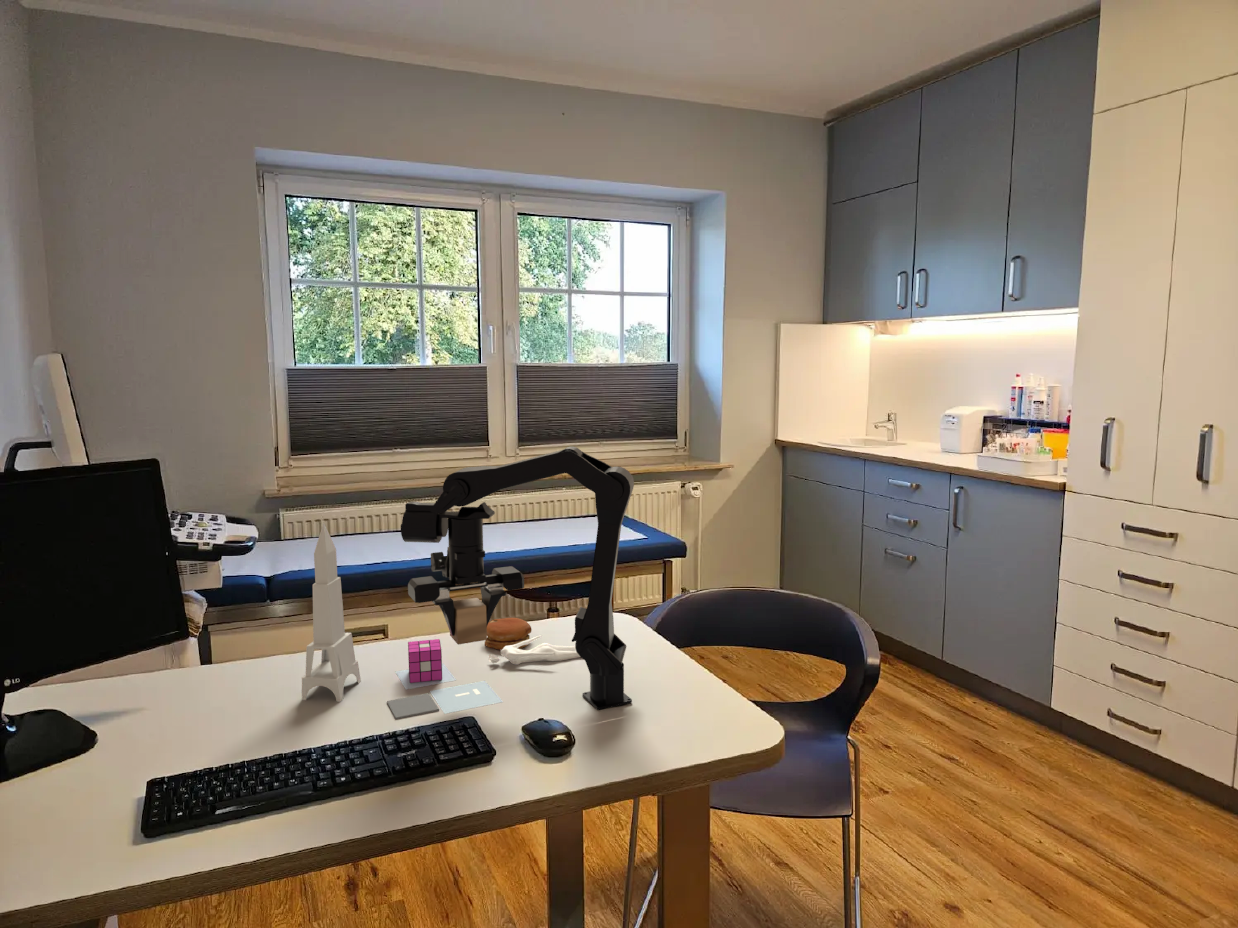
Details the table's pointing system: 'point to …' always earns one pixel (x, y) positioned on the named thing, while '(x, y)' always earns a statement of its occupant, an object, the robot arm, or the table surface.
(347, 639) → the sculpture
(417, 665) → the puzzle toy
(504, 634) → the burger
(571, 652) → the figurine
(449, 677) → the code card
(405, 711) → the pad
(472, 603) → the walnut block
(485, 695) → the code card
